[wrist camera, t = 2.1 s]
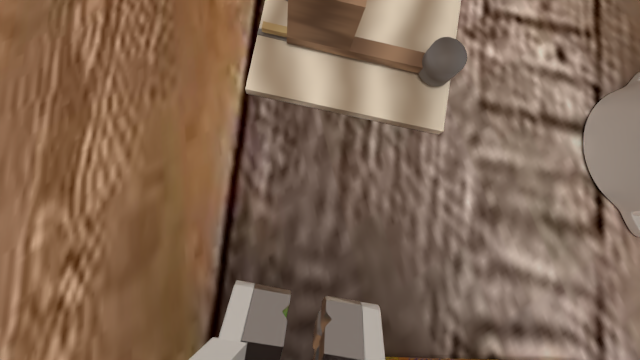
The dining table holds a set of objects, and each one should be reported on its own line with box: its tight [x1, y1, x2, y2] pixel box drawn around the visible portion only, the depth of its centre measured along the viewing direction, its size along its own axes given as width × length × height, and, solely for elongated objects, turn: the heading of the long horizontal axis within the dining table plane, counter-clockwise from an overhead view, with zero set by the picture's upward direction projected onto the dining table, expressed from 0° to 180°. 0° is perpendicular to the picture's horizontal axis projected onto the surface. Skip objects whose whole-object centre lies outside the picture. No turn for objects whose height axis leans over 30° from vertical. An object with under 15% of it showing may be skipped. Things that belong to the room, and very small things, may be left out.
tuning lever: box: [262, 0, 467, 86], centre depth 32 cm, size 19×4×8 cm, turn 79°
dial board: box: [245, 0, 461, 135], centre depth 37 cm, size 20×20×1 cm
